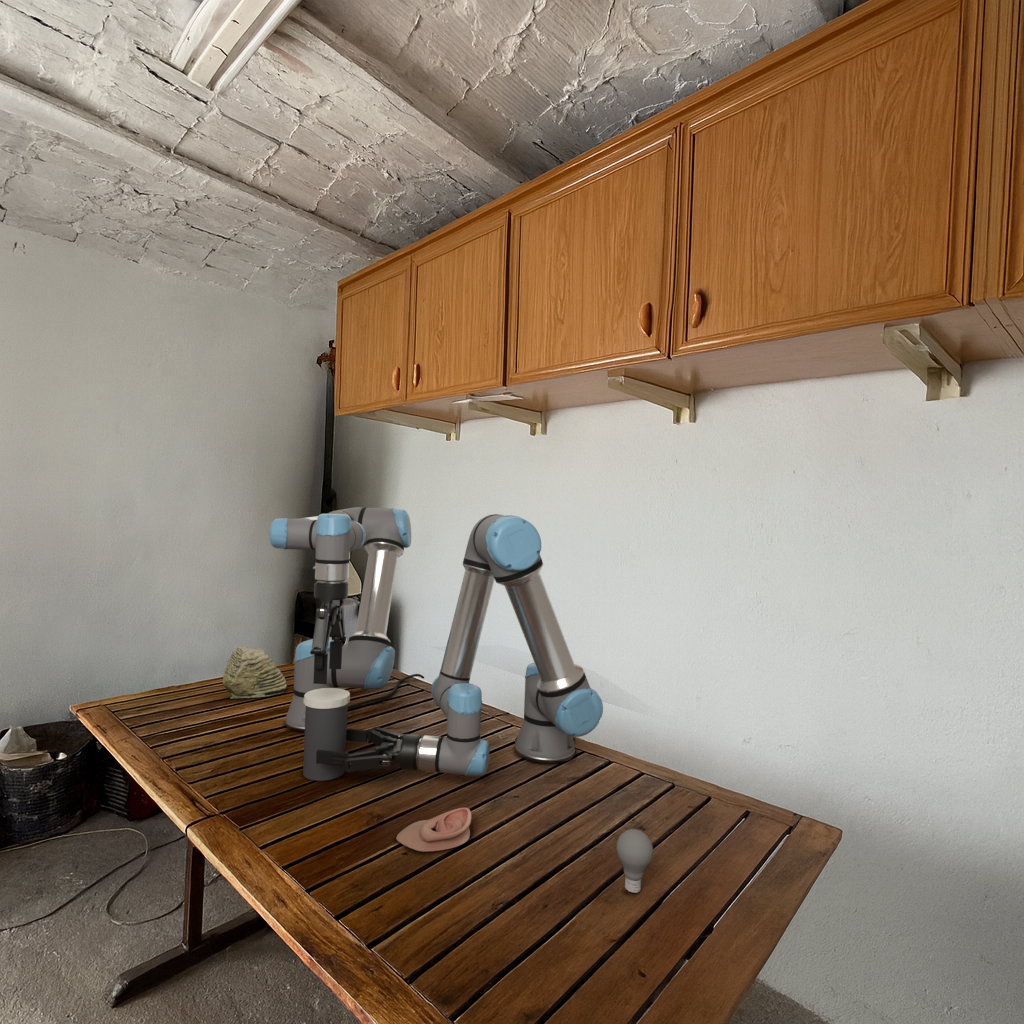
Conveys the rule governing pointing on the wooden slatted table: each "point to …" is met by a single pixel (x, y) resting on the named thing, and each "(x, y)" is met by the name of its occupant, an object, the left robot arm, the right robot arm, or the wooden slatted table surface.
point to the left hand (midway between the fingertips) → (327, 675)
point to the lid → (326, 698)
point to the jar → (324, 740)
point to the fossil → (252, 674)
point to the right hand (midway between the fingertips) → (329, 744)
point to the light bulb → (634, 857)
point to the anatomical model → (438, 831)
